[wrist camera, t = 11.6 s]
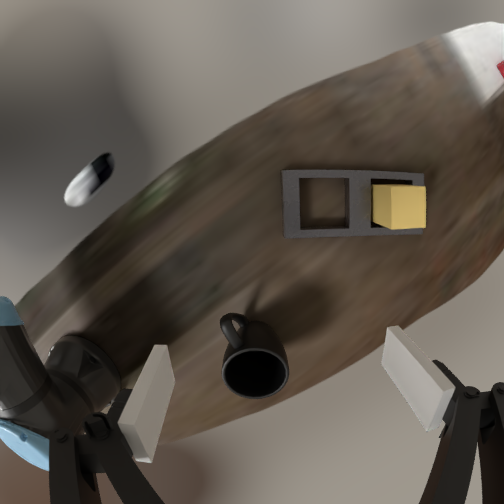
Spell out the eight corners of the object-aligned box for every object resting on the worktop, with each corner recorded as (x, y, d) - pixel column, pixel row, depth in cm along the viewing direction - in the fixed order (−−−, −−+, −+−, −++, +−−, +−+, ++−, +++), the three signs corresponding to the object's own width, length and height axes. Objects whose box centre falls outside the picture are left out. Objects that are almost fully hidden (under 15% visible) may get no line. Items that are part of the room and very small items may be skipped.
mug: (258, 280, 41) (259, 310, 32) (291, 347, 43) (299, 386, 34) (205, 303, 42) (193, 336, 32) (242, 365, 44) (239, 406, 35)
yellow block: (370, 220, 39) (391, 229, 32) (369, 184, 37) (390, 186, 31) (400, 219, 38) (425, 227, 32) (400, 184, 37) (425, 186, 30)
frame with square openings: (283, 235, 39) (284, 238, 37) (280, 170, 37) (282, 170, 35) (415, 231, 39) (422, 233, 37) (416, 173, 37) (424, 173, 35)
